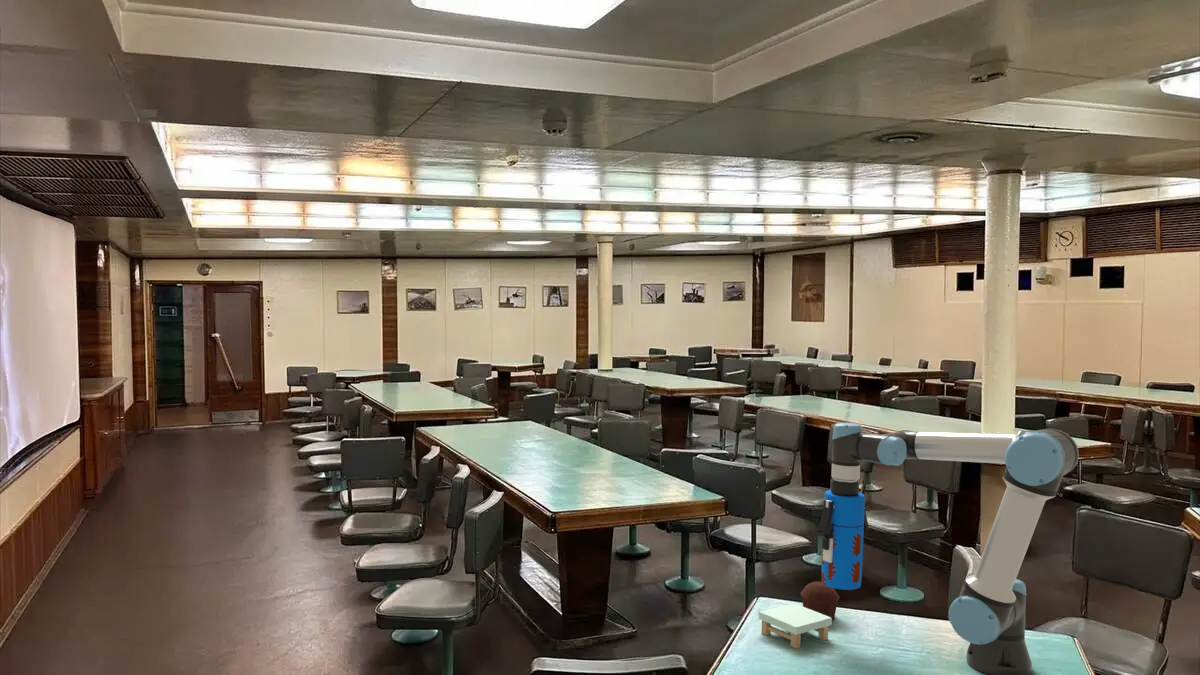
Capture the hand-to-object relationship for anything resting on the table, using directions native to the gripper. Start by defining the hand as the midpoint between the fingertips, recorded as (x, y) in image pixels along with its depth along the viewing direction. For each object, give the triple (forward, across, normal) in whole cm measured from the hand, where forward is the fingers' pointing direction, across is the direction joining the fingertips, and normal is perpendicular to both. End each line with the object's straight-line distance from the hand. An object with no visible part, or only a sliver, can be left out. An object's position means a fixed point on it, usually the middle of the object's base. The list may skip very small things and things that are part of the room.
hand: (842, 558), depth 230 cm
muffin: (+23, -9, -15) cm, 29 cm away
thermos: (+7, 0, 0) cm, 7 cm away
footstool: (+23, +9, -8) cm, 26 cm away
